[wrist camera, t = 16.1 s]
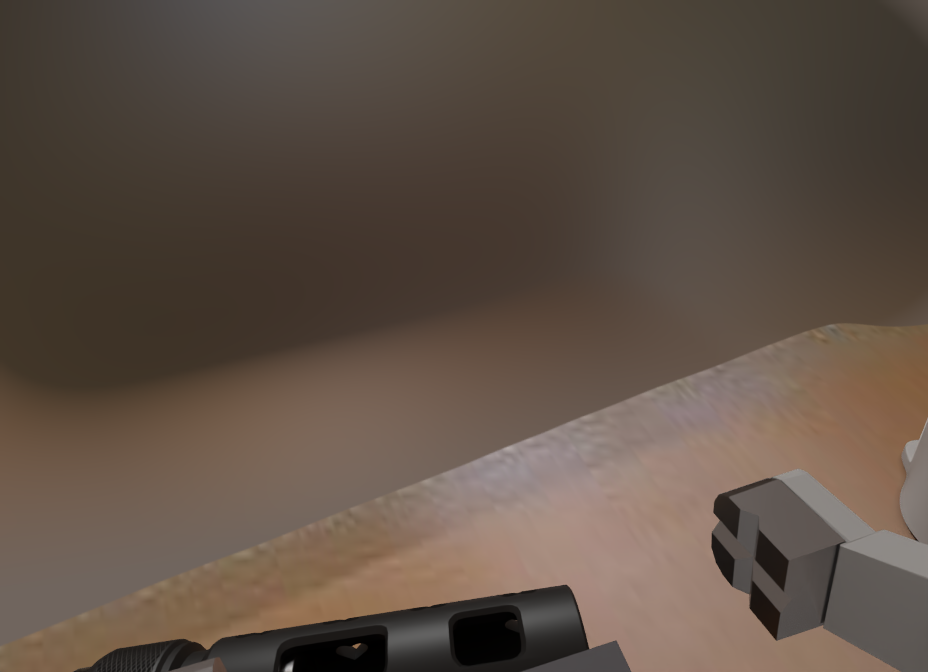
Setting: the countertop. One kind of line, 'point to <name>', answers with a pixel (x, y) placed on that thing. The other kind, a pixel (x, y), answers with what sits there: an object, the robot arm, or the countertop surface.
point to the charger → (589, 661)
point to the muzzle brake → (391, 640)
